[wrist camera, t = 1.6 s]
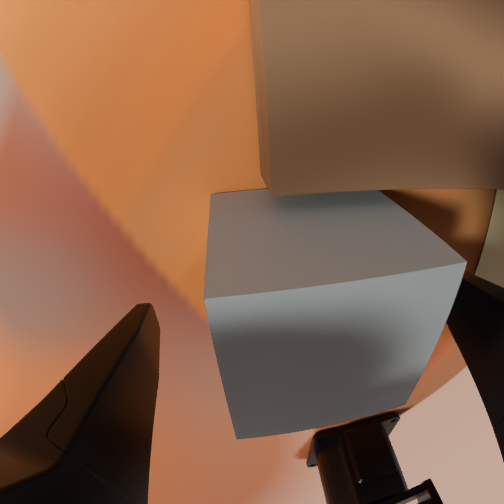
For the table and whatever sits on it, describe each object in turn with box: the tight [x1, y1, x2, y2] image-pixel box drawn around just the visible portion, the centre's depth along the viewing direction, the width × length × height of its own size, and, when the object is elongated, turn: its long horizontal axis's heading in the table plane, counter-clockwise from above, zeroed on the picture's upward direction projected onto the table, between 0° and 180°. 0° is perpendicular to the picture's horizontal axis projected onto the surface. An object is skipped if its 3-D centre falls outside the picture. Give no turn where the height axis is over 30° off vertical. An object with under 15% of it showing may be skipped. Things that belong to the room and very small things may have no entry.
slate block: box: [204, 189, 467, 439], centre depth 8 cm, size 5×5×5 cm
